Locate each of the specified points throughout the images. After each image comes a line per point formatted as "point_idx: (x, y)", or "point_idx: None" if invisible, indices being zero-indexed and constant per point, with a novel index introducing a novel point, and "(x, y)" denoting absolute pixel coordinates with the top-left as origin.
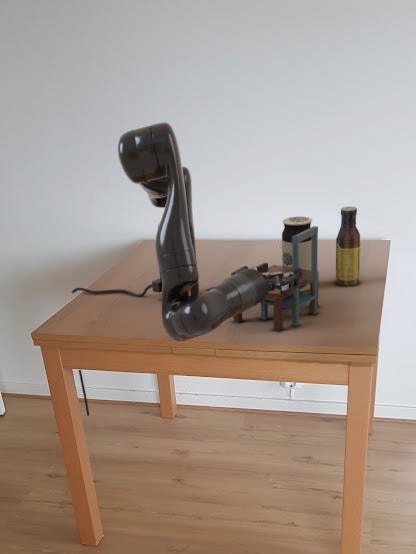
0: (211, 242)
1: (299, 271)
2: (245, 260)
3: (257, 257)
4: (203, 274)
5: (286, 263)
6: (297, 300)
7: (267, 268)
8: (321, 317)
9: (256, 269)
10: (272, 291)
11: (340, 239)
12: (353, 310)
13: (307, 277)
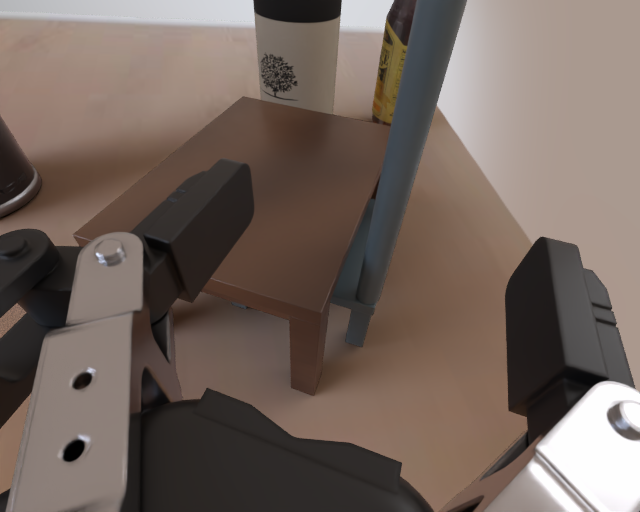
0: (111, 26)
1: (593, 294)
2: (173, 65)
3: (196, 59)
4: (76, 100)
5: (273, 86)
6: (381, 287)
7: (248, 198)
8: (411, 273)
9: (117, 387)
10: (280, 281)
11: (405, 19)
12: (472, 229)
13: (380, 159)
